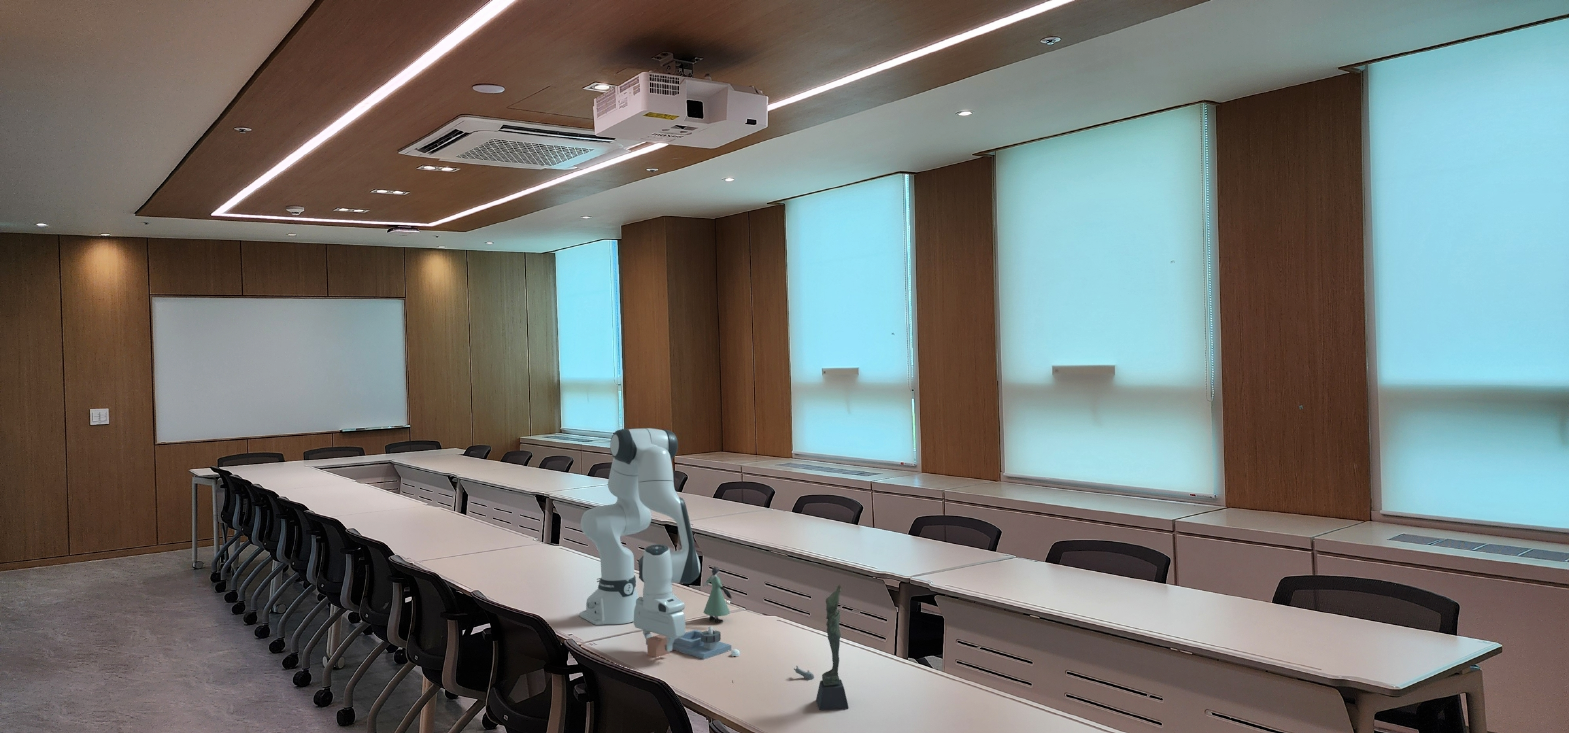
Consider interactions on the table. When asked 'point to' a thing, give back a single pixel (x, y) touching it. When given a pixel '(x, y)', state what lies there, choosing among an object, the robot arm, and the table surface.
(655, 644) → the brown small block
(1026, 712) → the table surface
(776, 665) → the table surface
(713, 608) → the character figurine
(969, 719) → the table surface
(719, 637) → the wheel
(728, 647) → the chassis
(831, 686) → the statue
